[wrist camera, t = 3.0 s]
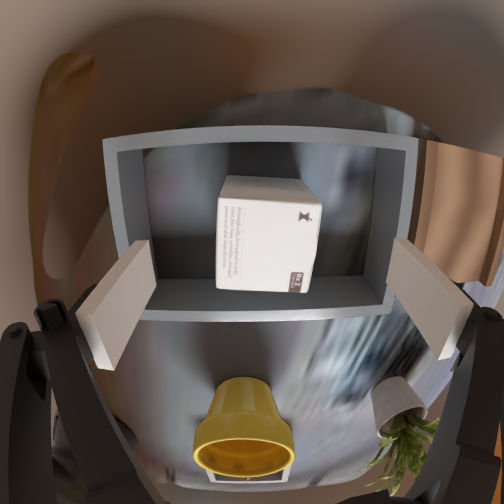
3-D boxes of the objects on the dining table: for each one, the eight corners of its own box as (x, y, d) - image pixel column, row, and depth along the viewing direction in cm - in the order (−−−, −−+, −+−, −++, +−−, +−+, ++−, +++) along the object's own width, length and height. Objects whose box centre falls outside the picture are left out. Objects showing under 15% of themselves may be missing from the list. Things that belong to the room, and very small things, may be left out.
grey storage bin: (150, 288, 27) (133, 319, 22) (130, 135, 21) (102, 139, 16) (370, 283, 27) (390, 313, 22) (387, 134, 21) (418, 138, 16)
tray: (392, 282, 27) (402, 295, 25) (412, 137, 21) (427, 140, 19) (480, 276, 27) (491, 285, 25) (503, 158, 21) (518, 162, 19)
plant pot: (293, 364, 31) (304, 437, 22) (282, 415, 35) (287, 477, 26) (199, 361, 31) (186, 434, 22) (204, 413, 35) (197, 475, 26)
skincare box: (225, 173, 23) (215, 194, 16) (302, 178, 23) (324, 201, 16) (223, 245, 25) (214, 290, 18) (294, 248, 25) (310, 294, 19)
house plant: (309, 411, 35) (326, 519, 20) (375, 341, 30) (429, 464, 15) (381, 422, 38) (408, 507, 23) (442, 364, 32) (491, 452, 18)
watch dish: (212, 463, 42) (210, 482, 38) (201, 429, 37) (199, 451, 33) (285, 463, 42) (286, 481, 38) (291, 429, 37) (294, 451, 33)
